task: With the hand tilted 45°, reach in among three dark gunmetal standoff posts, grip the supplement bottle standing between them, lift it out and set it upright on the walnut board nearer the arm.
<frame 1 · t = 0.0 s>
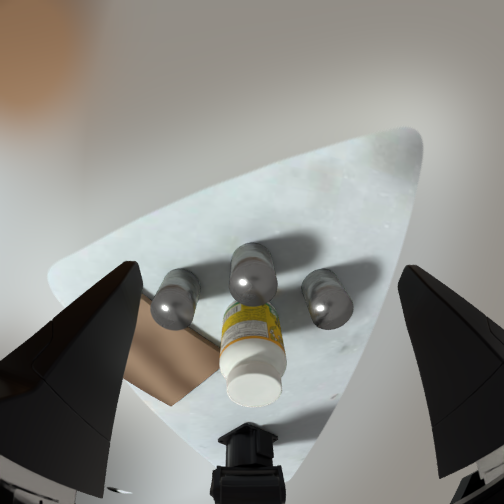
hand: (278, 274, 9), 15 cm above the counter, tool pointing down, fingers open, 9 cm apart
standoff posts: (251, 318, 28), on the counter
walnut board: (155, 354, 30), on the counter
supplement bottle: (250, 317, 28), on the counter
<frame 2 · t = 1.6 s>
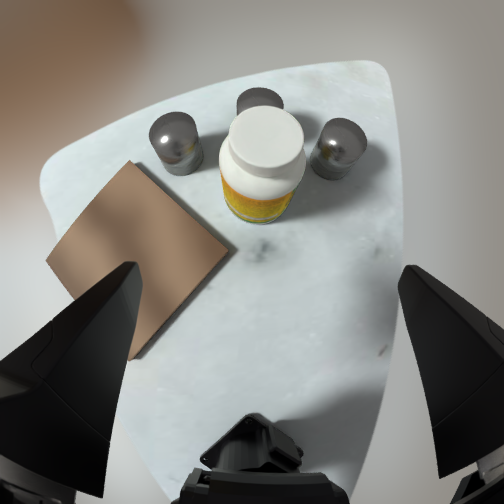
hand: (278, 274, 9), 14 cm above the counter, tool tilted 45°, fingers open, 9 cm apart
standoff posts: (256, 194, 24), on the counter
walnut board: (127, 257, 22), on the counter
supplement bottle: (256, 195, 24), on the counter
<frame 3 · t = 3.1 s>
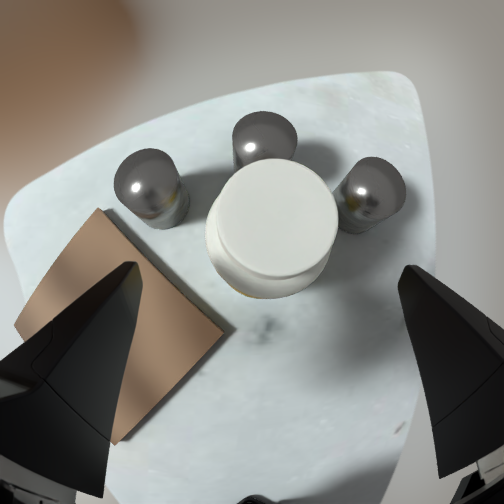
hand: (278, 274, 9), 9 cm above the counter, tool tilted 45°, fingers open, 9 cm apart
standoff posts: (259, 256, 18), on the counter
walnut board: (102, 331, 17), on the counter
supplement bottle: (259, 257, 19), on the counter
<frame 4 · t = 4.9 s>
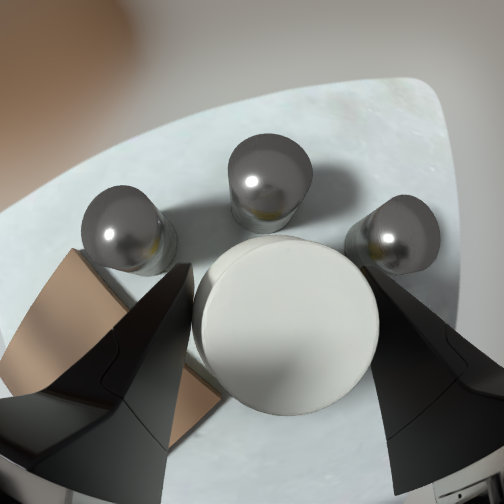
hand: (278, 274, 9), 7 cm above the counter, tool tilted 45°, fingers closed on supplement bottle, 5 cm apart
standoff posts: (262, 311, 15), on the counter
walnut board: (86, 386, 14), on the counter
supplement bottle: (261, 311, 16), on the counter, touching gripper
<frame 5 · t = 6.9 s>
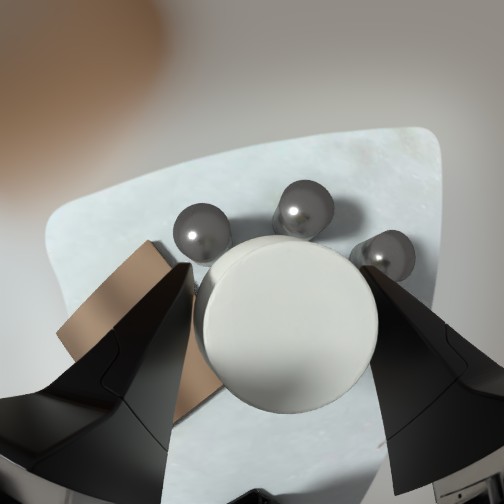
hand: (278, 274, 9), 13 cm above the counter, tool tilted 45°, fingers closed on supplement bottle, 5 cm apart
standoff posts: (287, 298, 22), on the counter
walnut board: (145, 347, 21), on the counter
supplement bottle: (262, 309, 16), point 6 cm above the counter, touching gripper
when the fingers open (8 cm above the counter, at t = 8.9 s): supplement bottle stays where it is, resting on walnut board.
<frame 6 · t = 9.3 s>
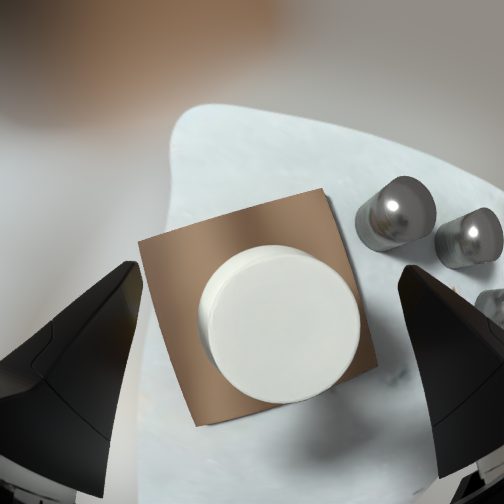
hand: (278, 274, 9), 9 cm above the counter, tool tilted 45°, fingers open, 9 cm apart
standoff posts: (424, 315, 18), on the counter
walnut board: (260, 309, 17), on the counter
supplement bottle: (260, 311, 17), point 1 cm above the counter, touching walnut board
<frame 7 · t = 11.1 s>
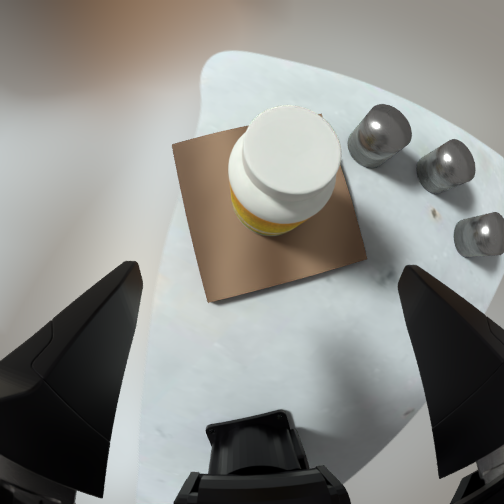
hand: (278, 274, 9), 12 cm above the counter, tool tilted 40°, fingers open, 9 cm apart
standoff posts: (408, 226, 21), on the counter
walnut board: (268, 200, 21), on the counter
supplement bottle: (269, 200, 20), point 1 cm above the counter, touching walnut board
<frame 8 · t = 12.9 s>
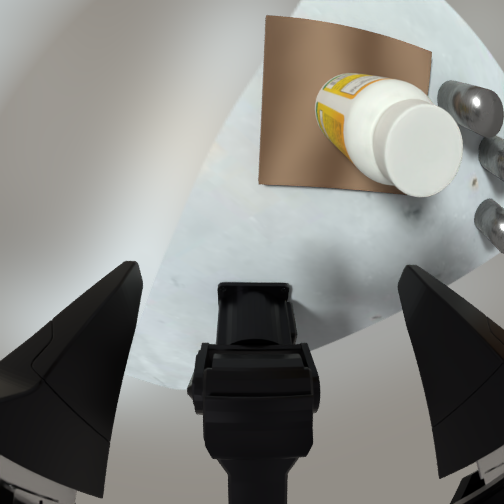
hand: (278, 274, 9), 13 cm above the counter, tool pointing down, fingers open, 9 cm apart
standoff posts: (449, 182, 20), on the counter
walnut board: (347, 107, 17), on the counter
supplement bottle: (350, 110, 17), point 1 cm above the counter, touching walnut board
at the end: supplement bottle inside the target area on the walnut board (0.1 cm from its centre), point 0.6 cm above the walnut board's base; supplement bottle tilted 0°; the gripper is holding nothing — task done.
